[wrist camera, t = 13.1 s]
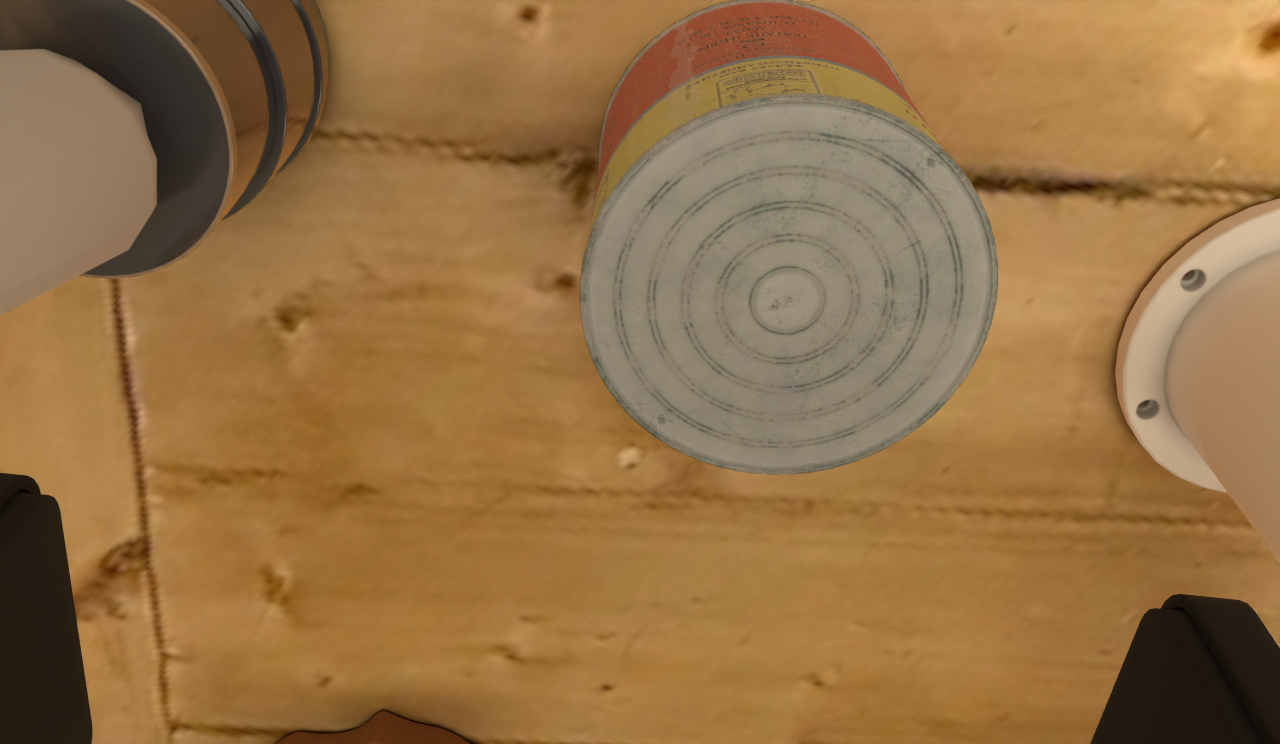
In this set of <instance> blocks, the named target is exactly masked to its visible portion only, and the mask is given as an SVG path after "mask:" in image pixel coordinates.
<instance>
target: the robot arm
mask: <svg viewBox="0 0 1280 744" xmlns="http://www.w3.org/2000/svg"><path fill="white" fill-rule="evenodd" d="M1187 272H1189V273H1188V274H1186V273H1187ZM1185 274H1186V275H1185ZM1184 275H1185V276H1184ZM1115 378H1116V387H1117V396H1118V401H1119V403H1120V406H1121V409H1122V411H1123V414H1124V417H1125V420H1126V422H1127V424H1128V425H1129V427H1130V428H1131V430H1132V431H1133V433H1134V435H1135V436H1136V438H1137V440H1138V441H1139V443H1140V444H1141V445H1142V446H1143V447H1144V449H1145V450H1146V451H1147V452H1148V453H1149V454H1150V455H1151V457H1152V458H1153V459H1154V460H1155V461H1156V462H1157V463H1158V464H1160V465H1161V466H1163V467H1164V468H1165V469H1167V470H1168V471H1170V472H1171V473H1172V474H1174V475H1175V476H1177V477H1179V478H1181V479H1183V480H1186V481H1188V482H1190V483H1193V484H1195V485H1197V486H1200V487H1202V488H1207V489H1211V490H1216V491H1220V492H1225V493H1228V494H1229V495H1230V497H1231V498H1232V499H1233V501H1234V502H1235V503H1236V505H1237V506H1238V507H1239V509H1240V510H1241V512H1242V513H1243V514H1244V516H1245V517H1246V518H1247V520H1248V521H1249V522H1250V524H1251V525H1252V526H1253V528H1254V529H1255V530H1256V532H1257V533H1258V535H1259V536H1260V537H1261V539H1262V540H1263V541H1264V543H1265V544H1266V545H1267V547H1268V548H1269V549H1270V551H1271V552H1272V554H1273V555H1274V556H1275V558H1276V559H1277V560H1278V562H1279V563H1280V198H1279V199H1275V200H1272V201H1269V202H1265V203H1262V204H1258V205H1255V206H1251V207H1249V208H1247V209H1245V210H1243V211H1241V212H1239V213H1236V214H1234V215H1232V216H1230V217H1228V218H1226V219H1224V220H1221V221H1219V222H1218V223H1216V224H1215V225H1213V226H1212V227H1210V228H1209V229H1207V230H1206V231H1204V232H1203V233H1201V234H1200V235H1198V236H1197V237H1195V238H1194V239H1192V240H1191V241H1189V242H1188V243H1187V244H1186V245H1185V246H1183V247H1182V248H1181V249H1180V250H1179V251H1178V252H1177V253H1176V254H1175V255H1174V256H1172V257H1171V258H1170V259H1169V260H1168V261H1167V262H1166V263H1165V264H1164V265H1163V266H1162V267H1161V268H1160V269H1159V271H1158V272H1157V273H1156V274H1155V276H1154V277H1153V278H1152V279H1151V281H1150V282H1149V283H1148V284H1147V286H1146V287H1145V288H1144V289H1143V291H1142V292H1141V294H1140V296H1139V298H1138V300H1137V301H1136V303H1135V305H1134V307H1133V309H1132V311H1131V312H1130V314H1129V316H1128V318H1127V320H1126V323H1125V326H1124V329H1123V333H1122V336H1121V339H1120V342H1119V345H1118V351H1117V359H1116V368H1115ZM91 743H92V721H91V714H90V707H89V701H88V694H87V687H86V681H85V674H84V667H83V660H82V654H81V647H80V640H79V634H78V627H77V620H76V614H75V607H74V600H73V594H72V587H71V580H70V574H69V567H68V560H67V554H66V547H65V540H64V533H63V527H62V520H61V513H60V509H59V505H58V502H57V501H56V499H55V498H54V497H52V496H50V495H41V493H40V489H39V486H38V484H37V483H36V481H35V480H34V479H33V478H31V477H29V476H26V475H16V474H6V473H0V744H91ZM1091 744H1280V648H1279V647H1278V645H1277V644H1276V642H1275V641H1274V639H1273V638H1272V636H1271V635H1270V633H1269V632H1268V630H1267V629H1266V627H1265V626H1264V624H1263V623H1262V621H1261V620H1260V618H1259V617H1258V615H1257V614H1256V612H1255V611H1254V610H1253V609H1252V608H1251V607H1250V606H1249V605H1248V604H1247V603H1245V602H1243V601H1240V600H1234V599H1224V598H1214V597H1204V596H1195V595H1185V594H1177V595H1172V596H1171V597H1170V598H1168V599H1167V600H1166V601H1165V602H1164V604H1163V606H1162V608H1161V609H1157V608H1154V609H1149V610H1148V611H1147V612H1146V613H1145V614H1144V616H1143V618H1142V619H1141V621H1140V624H1139V626H1138V628H1137V631H1136V633H1135V636H1134V638H1133V641H1132V643H1131V646H1130V648H1129V651H1128V653H1127V655H1126V658H1125V660H1124V663H1123V665H1122V668H1121V670H1120V673H1119V675H1118V678H1117V680H1116V682H1115V685H1114V687H1113V690H1112V692H1111V695H1110V697H1109V700H1108V702H1107V704H1106V707H1105V709H1104V712H1103V714H1102V717H1101V719H1100V722H1099V724H1098V727H1097V729H1096V731H1095V734H1094V736H1093V739H1092V741H1091Z"/></svg>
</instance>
